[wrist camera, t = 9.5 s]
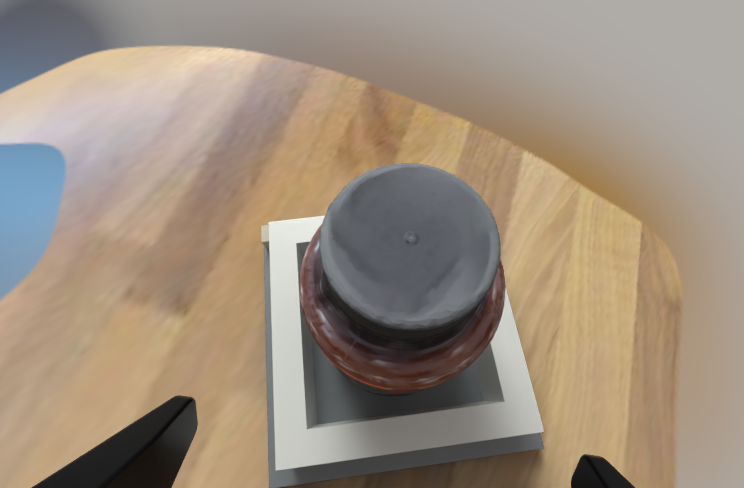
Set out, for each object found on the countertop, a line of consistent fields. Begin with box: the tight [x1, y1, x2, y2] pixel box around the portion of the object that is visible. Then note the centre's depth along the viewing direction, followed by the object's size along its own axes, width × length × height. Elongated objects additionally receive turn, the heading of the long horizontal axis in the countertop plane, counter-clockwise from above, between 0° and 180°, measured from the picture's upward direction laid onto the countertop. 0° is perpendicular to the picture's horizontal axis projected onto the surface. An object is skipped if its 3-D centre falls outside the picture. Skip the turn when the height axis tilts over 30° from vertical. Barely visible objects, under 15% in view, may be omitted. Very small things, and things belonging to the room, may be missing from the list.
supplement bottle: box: [299, 163, 505, 396], centre depth 13 cm, size 6×6×11 cm
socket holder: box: [261, 216, 544, 488], centre depth 18 cm, size 12×12×4 cm
